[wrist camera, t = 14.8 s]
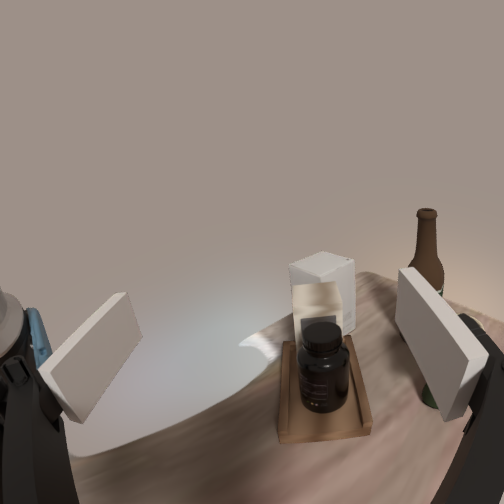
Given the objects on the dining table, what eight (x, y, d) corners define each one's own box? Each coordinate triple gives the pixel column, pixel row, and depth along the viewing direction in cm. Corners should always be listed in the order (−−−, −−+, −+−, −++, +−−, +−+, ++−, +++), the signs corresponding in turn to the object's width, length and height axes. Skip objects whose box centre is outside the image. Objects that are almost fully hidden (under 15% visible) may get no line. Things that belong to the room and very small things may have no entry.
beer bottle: (438, 346, 44) (454, 214, 36) (399, 347, 47) (407, 215, 39) (433, 323, 50) (442, 204, 43) (398, 324, 53) (402, 205, 46)
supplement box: (325, 314, 63) (322, 249, 58) (356, 328, 55) (356, 258, 51) (293, 331, 59) (286, 263, 54) (324, 349, 51) (320, 275, 47)
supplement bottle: (314, 377, 42) (311, 312, 38) (355, 388, 38) (359, 321, 34) (290, 406, 37) (283, 340, 33) (334, 421, 33) (337, 353, 29)
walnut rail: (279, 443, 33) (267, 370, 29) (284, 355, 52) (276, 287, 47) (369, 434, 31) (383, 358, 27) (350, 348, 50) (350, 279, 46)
